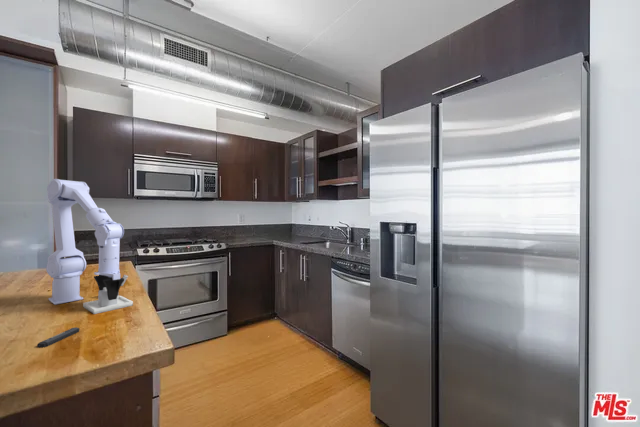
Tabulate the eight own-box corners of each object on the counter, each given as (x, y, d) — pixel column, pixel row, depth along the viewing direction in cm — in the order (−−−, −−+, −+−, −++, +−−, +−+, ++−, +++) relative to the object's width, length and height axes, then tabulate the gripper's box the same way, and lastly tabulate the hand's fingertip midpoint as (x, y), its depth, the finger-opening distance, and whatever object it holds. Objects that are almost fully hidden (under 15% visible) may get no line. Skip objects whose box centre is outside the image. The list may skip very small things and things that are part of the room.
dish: (83, 306, 95) (83, 302, 95) (120, 299, 104) (120, 295, 104) (94, 314, 89) (94, 309, 89) (132, 305, 98) (132, 301, 98)
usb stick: (71, 332, 77) (71, 326, 77) (81, 332, 77) (81, 326, 77) (35, 348, 67) (35, 342, 67) (45, 349, 67) (45, 342, 67)
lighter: (105, 298, 105) (105, 277, 105) (104, 297, 106) (105, 276, 106) (127, 295, 110) (128, 274, 110) (127, 294, 111) (127, 274, 111)
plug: (98, 305, 96) (98, 287, 96) (113, 301, 99) (113, 285, 99) (101, 307, 94) (102, 289, 94) (117, 303, 97) (117, 286, 97)
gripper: (88, 257, 98) (87, 295, 98) (102, 262, 89) (101, 304, 89) (111, 255, 103) (111, 291, 103) (127, 259, 95) (127, 299, 95)
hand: (108, 297), depth 97 cm, fingers open, 7 cm apart
